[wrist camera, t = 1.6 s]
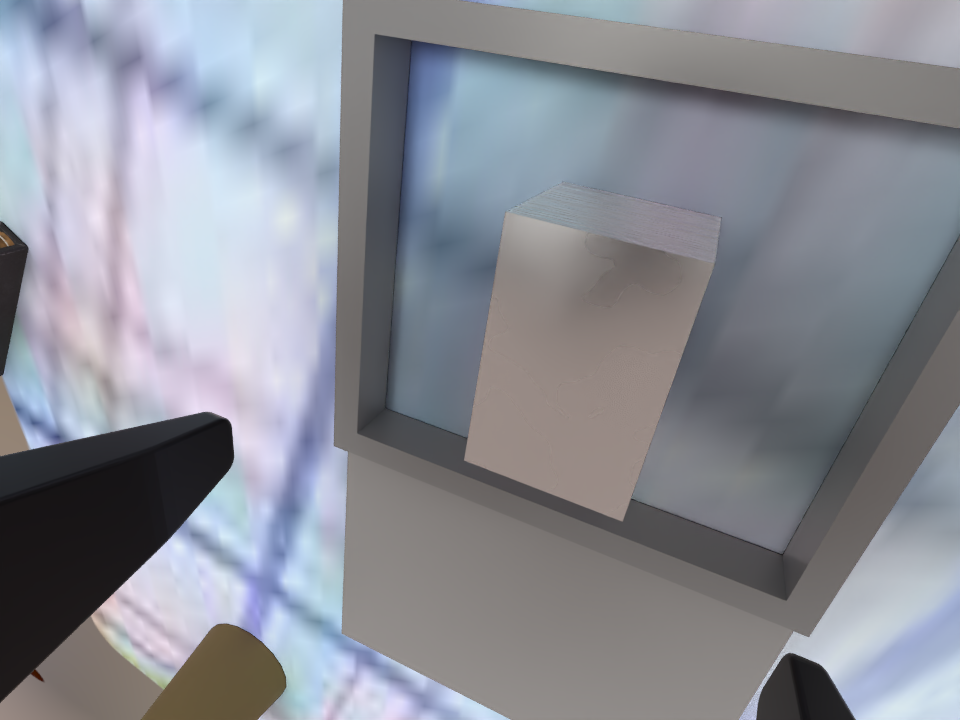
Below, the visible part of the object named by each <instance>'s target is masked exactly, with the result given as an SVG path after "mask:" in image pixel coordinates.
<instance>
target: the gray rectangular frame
mask: <svg viewBox="0 0 960 720" xmlns="http://www.w3.org/2000/svg"><path fill="white" fill-rule="evenodd" d="M411 40H415V41H421V42H427V43H434V44H440V45H446V46H452V47H458V48H465V49H471V50H477V51H483V52H489V53H496V54H502V55H508V56H514V57H520V58H526V59H533V60H539V61H545V62H551V63H557V64H564V65H570V66H576V67H582V68H588V69H594V70H601V71H607V72H613V73H619V74H625V75H632V76H638V77H644V78H650V79H656V80H663V81H669V82H675V83H681V84H687V85H693V86H700V87H706V88H712V89H718V90H724V91H731V92H737V93H743V94H749V95H755V96H761V97H768V98H774V99H780V100H786V101H792V102H799V103H805V104H811V105H817V106H823V107H830V108H836V109H842V110H848V111H854V112H860V113H867V114H873V115H879V116H885V117H891V118H898V119H904V120H910V121H916V122H922V123H929V124H935V125H941V126H947V127H953V128H959V129H960V69H959V68H952V67H945V66H937V65H930V64H923V63H915V62H908V61H901V60H893V59H886V58H879V57H871V56H864V55H857V54H849V53H842V52H835V51H827V50H820V49H813V48H805V47H798V46H791V45H783V44H776V43H768V42H761V41H754V40H746V39H739V38H732V37H724V36H717V35H710V34H702V33H695V32H688V31H680V30H673V29H666V28H658V27H651V26H644V25H636V24H629V23H622V22H614V21H607V20H600V19H592V18H585V17H578V16H570V15H563V14H556V13H548V12H541V11H534V10H526V9H519V8H512V7H504V6H497V5H490V4H482V3H475V2H468V1H460V0H343V21H342V70H341V119H340V168H339V217H338V266H337V315H336V365H335V414H334V446H335V447H338V448H340V449H343V450H345V451H348V469H347V497H346V525H345V553H344V581H343V610H342V634H344V635H346V636H348V637H350V638H352V639H353V640H355V641H357V642H359V643H361V644H363V645H365V646H367V647H369V648H371V649H373V650H375V651H377V652H379V653H381V654H383V655H385V656H387V657H389V658H391V659H393V660H395V661H397V662H399V663H401V664H403V665H405V666H407V667H409V668H411V669H413V670H415V671H416V672H418V673H420V674H422V675H424V676H426V677H428V678H430V679H432V680H434V681H436V682H438V683H440V684H442V685H444V686H446V687H448V688H450V689H452V690H454V691H456V692H458V693H460V694H462V695H464V696H466V697H468V698H470V699H472V700H474V701H476V702H478V703H479V704H481V705H483V706H485V707H487V708H489V709H491V710H493V711H495V712H497V713H499V714H501V715H503V716H505V717H507V718H509V719H511V720H739V718H740V716H741V715H742V713H743V712H744V710H745V708H746V707H747V705H748V704H749V702H750V700H751V699H752V697H753V696H754V694H755V692H756V691H757V689H758V688H759V686H760V684H761V683H762V681H763V679H764V678H765V676H766V675H767V673H768V671H769V670H770V668H771V667H772V665H773V663H774V662H775V660H776V659H777V657H778V655H779V654H780V652H781V651H782V649H783V647H784V646H785V644H786V643H787V641H788V639H789V638H790V636H791V635H792V633H793V631H795V632H798V633H800V634H802V635H805V636H807V637H809V636H810V634H811V633H812V631H813V630H814V628H815V627H816V625H817V624H818V622H819V621H820V619H821V617H822V616H823V614H824V613H825V611H826V610H827V608H828V607H829V605H830V604H831V602H832V600H833V599H834V597H835V596H836V594H837V593H838V591H839V590H840V588H841V587H842V585H843V583H844V582H845V580H846V579H847V577H848V576H849V574H850V573H851V571H852V570H853V568H854V566H855V565H856V563H857V562H858V560H859V559H860V557H861V556H862V554H863V553H864V551H865V549H866V548H867V546H868V545H869V543H870V542H871V540H872V539H873V537H874V536H875V534H876V532H877V531H878V529H879V528H880V526H881V525H882V523H883V522H884V520H885V519H886V517H887V516H888V514H889V512H890V511H891V509H892V508H893V506H894V505H895V503H896V502H897V500H898V499H899V497H900V495H901V494H902V492H903V491H904V489H905V488H906V486H907V485H908V483H909V482H910V480H911V478H912V477H913V475H914V474H915V472H916V471H917V469H918V468H919V466H920V465H921V463H922V461H923V460H924V458H925V457H926V455H927V454H928V452H929V451H930V449H931V448H932V446H933V444H934V443H935V441H936V440H937V438H938V437H939V435H940V434H941V432H942V431H943V429H944V427H945V426H946V424H947V423H948V421H949V420H950V418H951V417H952V415H953V414H954V412H955V410H956V409H957V407H958V406H959V404H960V236H959V238H958V240H957V242H956V243H955V245H954V247H953V249H952V251H951V252H950V254H949V256H948V258H947V260H946V261H945V263H944V265H943V267H942V269H941V270H940V272H939V274H938V276H937V278H936V280H935V281H934V283H933V285H932V287H931V289H930V290H929V292H928V294H927V296H926V298H925V299H924V301H923V303H922V305H921V307H920V308H919V310H918V312H917V314H916V316H915V317H914V319H913V321H912V323H911V325H910V326H909V328H908V330H907V332H906V334H905V335H904V337H903V339H902V341H901V343H900V344H899V346H898V348H897V350H896V352H895V354H894V355H893V357H892V359H891V361H890V363H889V364H888V366H887V368H886V370H885V372H884V373H883V375H882V377H881V379H880V381H879V382H878V384H877V386H876V388H875V390H874V391H873V393H872V395H871V397H870V399H869V400H868V402H867V404H866V406H865V408H864V409H863V411H862V413H861V415H860V417H859V419H858V420H857V422H856V424H855V426H854V428H853V429H852V431H851V433H850V435H849V437H848V438H847V440H846V442H845V444H844V446H843V447H842V449H841V451H840V453H839V455H838V456H837V458H836V460H835V462H834V464H833V465H832V467H831V469H830V471H829V473H828V474H827V476H826V478H825V480H824V482H823V483H822V485H821V487H820V489H819V491H818V493H817V494H816V496H815V498H814V500H813V502H812V503H811V505H810V507H809V509H808V511H807V512H806V514H805V516H804V518H803V520H802V521H801V523H800V525H799V527H798V529H797V530H796V532H795V534H794V536H793V538H792V539H791V541H790V543H789V545H788V547H787V548H786V550H785V552H784V554H783V555H780V554H777V553H775V552H772V551H769V550H767V549H764V548H761V547H759V546H756V545H753V544H750V543H748V542H745V541H742V540H740V539H737V538H734V537H732V536H729V535H726V534H723V533H721V532H718V531H715V530H713V529H710V528H707V527H704V526H702V525H699V524H696V523H694V522H691V521H688V520H686V519H683V518H680V517H677V516H675V515H672V514H669V513H667V512H664V511H661V510H659V509H656V508H653V507H650V506H648V505H645V504H642V503H640V502H637V501H634V500H631V499H630V502H629V505H628V508H627V510H626V513H625V516H624V519H623V522H622V521H620V520H617V519H614V518H612V517H609V516H607V515H604V514H601V513H599V512H596V511H594V510H591V509H589V508H586V507H583V506H581V505H578V504H576V503H573V502H570V501H568V500H565V499H563V498H560V497H557V496H555V495H552V494H550V493H547V492H544V491H542V490H539V489H537V488H534V487H531V486H529V485H526V484H524V483H521V482H519V481H516V480H513V479H511V478H508V477H506V476H503V475H500V474H498V473H495V472H493V471H490V470H487V469H485V468H482V467H480V466H477V465H474V464H472V463H469V462H467V461H464V458H465V452H466V446H467V440H468V439H467V438H464V437H461V436H458V435H456V434H453V433H450V432H448V431H445V430H442V429H440V428H437V427H434V426H431V425H429V424H426V423H423V422H421V421H418V420H415V419H412V418H410V417H407V416H404V415H402V414H399V413H396V412H394V411H391V410H388V409H385V403H386V389H387V375H388V361H389V346H390V332H391V318H392V304H393V290H394V276H395V262H396V248H397V234H398V220H399V206H400V192H401V178H402V164H403V150H404V136H405V122H406V108H407V94H408V80H409V66H410V52H411Z"/></svg>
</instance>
